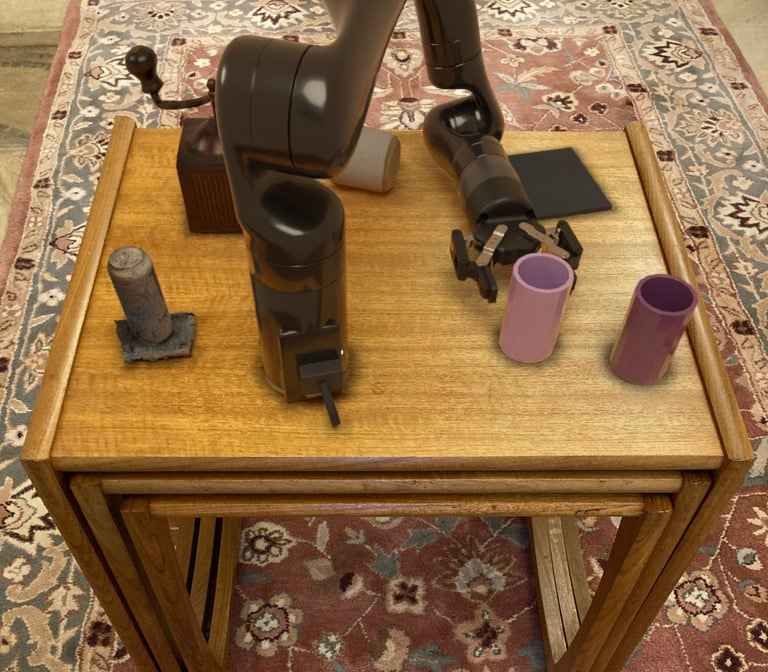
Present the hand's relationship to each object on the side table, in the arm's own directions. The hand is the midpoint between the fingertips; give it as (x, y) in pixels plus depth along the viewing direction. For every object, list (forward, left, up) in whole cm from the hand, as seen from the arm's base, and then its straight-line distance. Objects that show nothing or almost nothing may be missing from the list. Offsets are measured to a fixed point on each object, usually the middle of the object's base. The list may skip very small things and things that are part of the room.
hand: (532, 293), depth 82 cm
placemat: (+27, -13, -6) cm, 30 cm away
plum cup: (-7, -11, -6) cm, 15 cm away
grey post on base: (+9, +40, -6) cm, 41 cm away
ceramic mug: (+34, +10, -6) cm, 36 cm away
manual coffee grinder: (+32, +31, -6) cm, 45 cm away
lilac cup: (-1, 0, -6) cm, 6 cm away
